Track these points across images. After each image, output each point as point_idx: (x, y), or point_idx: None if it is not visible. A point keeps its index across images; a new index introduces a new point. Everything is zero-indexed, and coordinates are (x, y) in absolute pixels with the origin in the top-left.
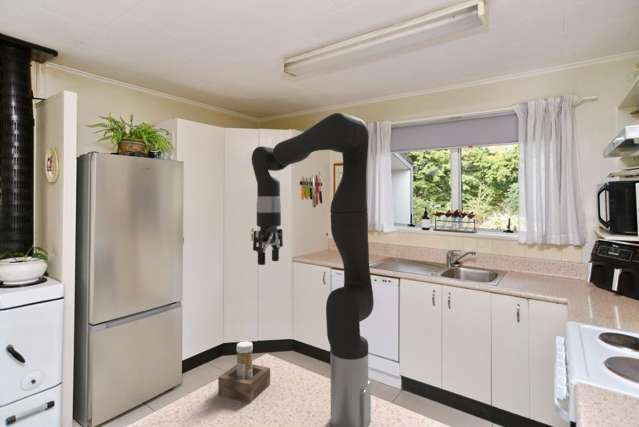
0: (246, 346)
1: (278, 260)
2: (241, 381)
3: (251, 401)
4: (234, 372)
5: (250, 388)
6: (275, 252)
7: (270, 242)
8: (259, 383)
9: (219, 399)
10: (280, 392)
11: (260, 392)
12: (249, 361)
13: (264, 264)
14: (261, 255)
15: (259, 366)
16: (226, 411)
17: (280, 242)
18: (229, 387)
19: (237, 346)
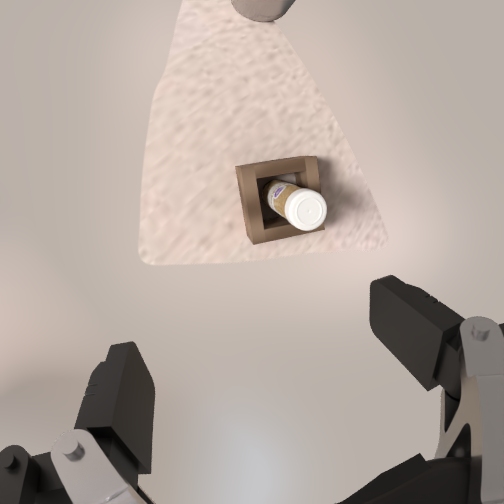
0: (318, 195)
1: (115, 344)
2: (316, 178)
3: (299, 156)
4: (289, 223)
5: (311, 156)
6: (132, 421)
7: (383, 494)
8: (279, 160)
9: None
10: (247, 130)
11: (271, 160)
12: (298, 187)
13: (376, 280)
14: (456, 316)
15: (248, 192)
16: (337, 173)
17: (25, 502)
18: None
19: (325, 216)
